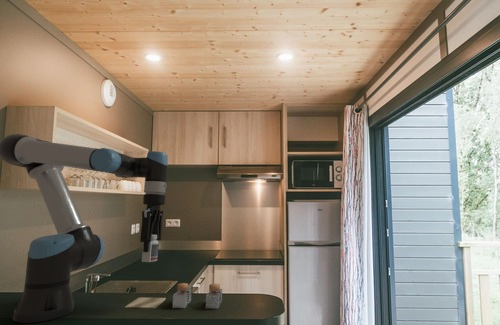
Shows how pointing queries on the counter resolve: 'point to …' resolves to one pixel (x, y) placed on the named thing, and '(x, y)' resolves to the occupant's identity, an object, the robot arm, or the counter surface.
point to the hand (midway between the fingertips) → (149, 260)
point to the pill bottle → (154, 248)
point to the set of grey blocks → (185, 297)
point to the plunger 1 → (182, 287)
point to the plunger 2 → (214, 287)
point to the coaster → (145, 303)
